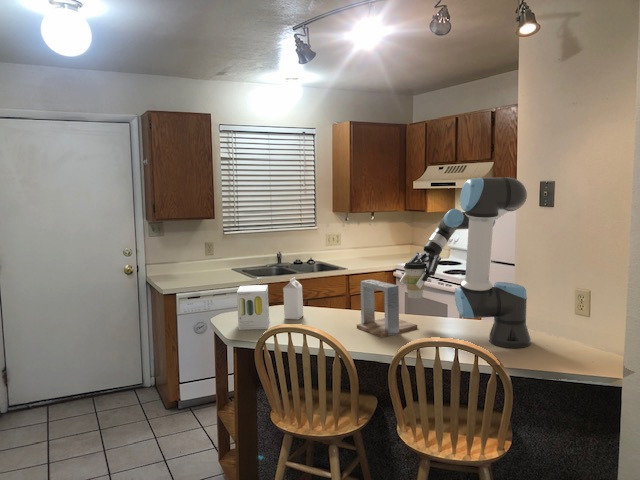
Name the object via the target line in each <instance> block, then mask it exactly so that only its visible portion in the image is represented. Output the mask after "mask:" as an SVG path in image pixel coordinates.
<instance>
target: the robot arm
mask: <svg viewBox="0 0 640 480" xmlns="http://www.w3.org/2000/svg"><path fill="white" fill-rule="evenodd" d="M527 197H528V192H527V189H526V186H525V185H524V184H523V183H522V182H521V181H520V180H518V179H516V178H514V177H510V176H509V177H508V176H507V177H506V176H505V177H504V176H503V177H502V176H501V177H477V178H474V177H473V178H470V179H467V180H466V181H465V182H464V183H463V185H462V188H461V191H460V195H459V198H460V199H459V202H460V208H461V209H462V210H463V211H462V210H460V209H457V208H451V209H449V210H448V211H447V212H446V213H445V214H444V216H443V218H442V219H441V220H440V222H439V224H438V225H437V227H436V229H435V230H434V232H433V233H432V234H431V236H430V237H429V239H428V241H427V242H426V243H425V245H424V246H423V251H421V253H420V252H419V251H416V252H415V254H414V255H413V257H412V258H411V259H410V260H409V261H408V262H422V263H425V266H426V269H425V273H423V274H422V276H421V277H420V279H419V280H418V282H417V283H416V285H417V286H418V288H421V287H422V285H423V284H424V285H425V282H427V280H428V279H429V277H430V276H433V277H434V276H435V274H436V272H437V269H438V266H439V263H440V262H441V260H442V257H441V256H440V254H441V253H442V252H443V249H444V248H445V247H446V245H447V244H448V242H449V241H450V239H451V237H452V236H453V235H454V233H455V232H456V230H468V231H467V246H466V247H467V248H466V249H467V250H466V260H465V261H466V263H465V264H466V265H465V276H464V277H465V278H464V279H463V280H461V282H460V287H458V288H455V290H454V301H455V306H456V310H457V312H458V314H459V315H460V316H461V317H462V318H463V319H483V318H493V324H492V327H491V329H490V332H489V336H488V337H489V339H488V342H489V343H491V344H492V345H495V346H498V347H502V348H506V349H507V348H509V349H521V348H527V347H528V346H531V343H532V342H531V336H530V334H529V330H528V326H527V299H528V297H527V289H526V287H525V286H523V285H522V284H521V285H520V284H518V283H513V282H507V281H505V282H504V281H495V282H494V284H492V282H491V281H490V268H491V255H492V243H493V232H494V231H493V230H494V229H493V228H494V226H495V224H496V220H498V219H499V218H501V217H503V216H505V215H506V214H507V213H509V212H514V211H517V210H518V209H520V208H521V207H523V205H524V204H525V203H526V200H527ZM403 269H404V270H405V268H404V267H403ZM399 283H400V284H401V285H403V286H404V285H405V284H406V277H405V271H404V272H403V274H402V276H401V278H400V280H399Z"/></svg>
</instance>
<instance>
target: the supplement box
mask: <svg viewBox="0 0 640 480" xmlns="http://www.w3.org/2000/svg"><path fill="white" fill-rule="evenodd" d="M236 302H237V305H236V306H237V324H238V325H237V326H238V327H237V328H238V331H242V330H249V331H250V330H267V329H268V328H269V325H270V309H269V308H270V307H269V306H270V305H269V285H268V284H258V285H255V284H254V285H253V284H252V285H240V286H239V287H238V289H237V291H236Z"/></svg>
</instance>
